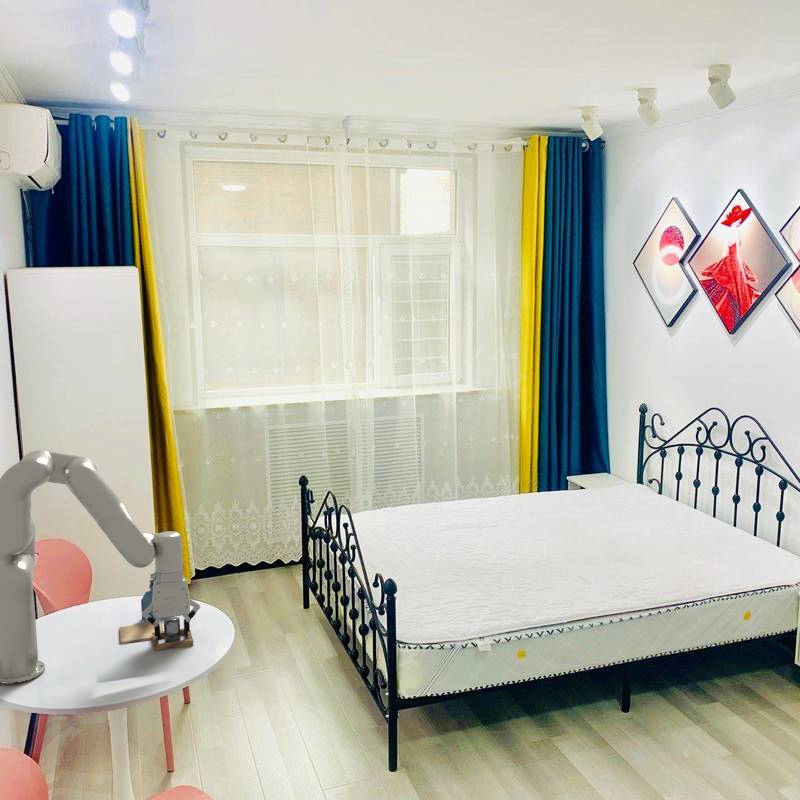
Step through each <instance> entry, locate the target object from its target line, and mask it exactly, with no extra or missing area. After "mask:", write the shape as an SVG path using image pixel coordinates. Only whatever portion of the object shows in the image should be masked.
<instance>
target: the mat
mask: <svg viewBox="0 0 800 800" xmlns="http://www.w3.org/2000/svg"><path fill="white" fill-rule="evenodd" d="M159 625H160V632H161V631H164V626H163V623H162V620H160V622H159ZM154 632H155V631H154V625H152V624H151V623H150V622H148V623H147V622H146V623H140V624H133V625H132V624H131V625H127V626H125V625H124V626H119V639H120V645H125V644H129V643H135V642H136V643H137V642H143V641H149V640H153V635H152V633H154ZM163 638H164V639H165V637H164V636H162V637H161V638H160V639H163Z"/></svg>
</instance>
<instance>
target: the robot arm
mask: <svg viewBox="0 0 800 800" xmlns="http://www.w3.org/2000/svg"><path fill="white" fill-rule="evenodd" d="M46 483H51V484H52V483H54V484H60V485H66V487H67V488H68V489H69V491H70V492H71V493H72V494H73V496H74V497H75V498H76V499H77V500H78V502H79V503H80V504H81V506H82V507H83V508H85V510H86V511H87V513H88V514H89V515H90V516H91V517H92V519H93V520H94V521H95V522H96V524H97V526H98V527H99V528H100V530H102V532H103V533H104V534H105V535H106V537H107V538H108V540H109V541H110V542H111V544H112V545H113V546H114V548H115V549H116V550H117V552H118V553H120V555H121V556H122V557H123V558H124V559H125V561H126V562H127V564H129V565H130V566H132V567H134V568H138V569H142V568H145V567H148V566H149V565H151V564H152V562H153V561H154V570H155V571H154V572H152V573H150V574H149V578H150V580H153V579H155V581H154V584H153V592H152V603H151V604H150V605H149V606H148V607H147V608H146V609H145V610H144V611H143V612H142V611H141V617H142V616H143V617H144V618H145V619H146V620H145V621H147V622H148V623H151V624H152V625H154V631H155V637H156V636H157V638H158V641H160V640H161V638H160V625H159V622H160V621H161V620H160V619H161V618H164V619H166V618H169V617H181V616H183V618H184V619H183V628H184V633H185V634H184V636H185V637H186V636H188V632H190V631H191V629H190V622H191V620H192V619H193V618H194V616H196V614H197V612H198V611H199V610H200V609H201V606H200V604H199V603H198V602H196V601H194V600H193V599H191V598H190V591H189V585H188V581H187V578H186V577H185V576H184V568H183V567H184V566H183V563H184V562H183V544H182V543H183V541H182V539H183V538H182V535H181V534H180V533H179V532H177V531H173V530H172V531H170V530H169V531H163V532H157V533H156V532H153V533H152V532H141V531H140V529H139V528H138V526H136V524H135V523H134V522H133V520H132V518H131V517H130V515H129V513H128V511H127V509H126V506H125V504H124V502H123V501H122V500H121V498H120V497H119V496H118V495H117V493H116V492H115V491H114V490H113V489H112V487H111V486H110V485H109V484H108V483H107V482H106V480H105V479H104V478H103V476H102V475H101V474H100V472H99V471H98V468H97V466H96V463H94V461H93V460H92V459H90V458H88V457H84V456H78V455H72V454H65V453H60V452H54V451H49V450H48V451H47V450H39V449H38V450H33V451H30V452H28V453H26V454H25V455H24V456H23V457H22V458H21V460H20V461H18V462H16V463H14V464H13V465H12V466H10V467H9V468H8V469H7V470H6V471H4V472H3V474H2V475H1V477H0V682H8V683H7V684H13V683H12V682H18V683H22V681H23V682H26V680H27V681H30V680H32V679H35V678H37V677H38V676H40V675H42V674H43V673H44V672H45V670H46V665H45V663H44V662H43V661H40V660H39V652H38V651H39V650H38V638H37V619H36V610H35V596H34V585H33V584H34V583H33V581H34V580H33V579H34V573H35V568H36V528H35V527H36V525H35V522H34V521H33V519H32V517H31V512H32V511H31V509H32V507H31V506H32V494H33V492H34V490H35V489H37V488H38V487H41V486H43V485H44V484H46ZM191 607H192V609H191ZM152 610H153V615H154V617H155V618H153V617H151V616H150V615H149V613H150V612H151V611H152Z"/></svg>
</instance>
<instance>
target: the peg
mask: <svg viewBox="0 0 800 800" xmlns="http://www.w3.org/2000/svg"><path fill="white" fill-rule="evenodd" d="M180 620H181V619H180V616H175V617H168V618H164V619H163V631H164V643H167V642H174V641H180V640H181V638H182V637H181V635H180V629H181V621H180Z"/></svg>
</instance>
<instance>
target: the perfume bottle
mask: <svg viewBox="0 0 800 800" xmlns="http://www.w3.org/2000/svg"><path fill="white" fill-rule="evenodd" d="M154 581H155V579H149V584H148V585H149V586H148V587H149V589H150V590H148V591H146V592H145V593H144V595H142V598H141V600H140V603H141V607H140V608H141V613H142V612H143V611H144V610H145V609H146V608H147V607H148V606H149V605H150V604H151V603H152V592H153V584H154ZM149 615H150V616H151V617H153V618H155V617H154V615H153V610H152V611H151V612H150V613H149ZM141 619H142V620H144V621H147V620H146V619H145V618H144V617H143V616H142V615H141ZM164 619H165V618H161V619H160V621H162V620H164Z"/></svg>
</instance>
